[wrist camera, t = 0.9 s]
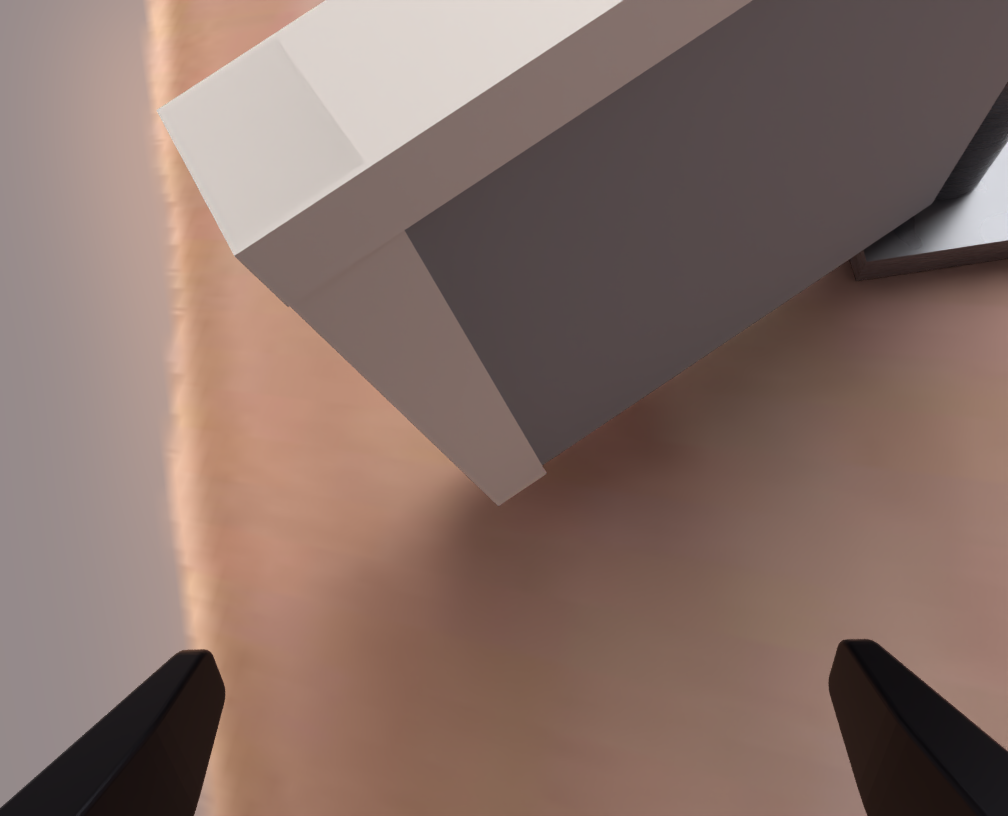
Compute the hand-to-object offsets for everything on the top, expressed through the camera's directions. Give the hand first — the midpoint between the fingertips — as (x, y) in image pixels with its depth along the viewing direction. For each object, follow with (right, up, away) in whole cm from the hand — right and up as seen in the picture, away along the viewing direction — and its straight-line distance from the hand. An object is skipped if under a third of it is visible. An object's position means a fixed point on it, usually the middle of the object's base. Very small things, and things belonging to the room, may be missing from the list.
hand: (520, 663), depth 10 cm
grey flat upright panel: (+6, +6, +12) cm, 14 cm away
